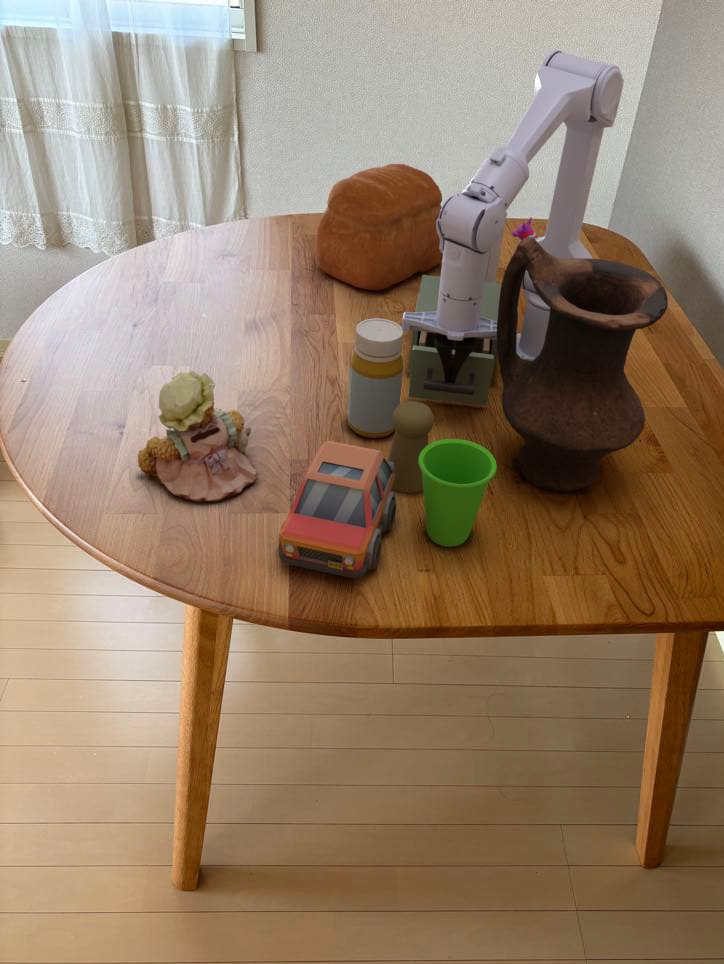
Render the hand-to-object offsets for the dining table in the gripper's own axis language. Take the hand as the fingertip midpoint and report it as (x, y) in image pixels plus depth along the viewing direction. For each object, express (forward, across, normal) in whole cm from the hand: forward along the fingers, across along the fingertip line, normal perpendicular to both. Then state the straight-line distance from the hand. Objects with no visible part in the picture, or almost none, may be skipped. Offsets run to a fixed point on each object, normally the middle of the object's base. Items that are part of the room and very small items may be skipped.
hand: (449, 381), depth 127 cm
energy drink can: (+6, +3, +41) cm, 42 cm away
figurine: (+6, -30, -20) cm, 37 cm away
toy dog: (+6, +16, +47) cm, 50 cm away
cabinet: (+6, 0, +17) cm, 18 cm away
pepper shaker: (+6, -4, -16) cm, 18 cm away
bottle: (+6, -10, -5) cm, 13 cm away
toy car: (+6, -11, -29) cm, 32 cm away
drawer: (+5, 0, +7) cm, 8 cm away
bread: (+6, -15, +46) cm, 49 cm away
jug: (+6, +15, -9) cm, 18 cm away
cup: (+6, +2, -26) cm, 27 cm away
